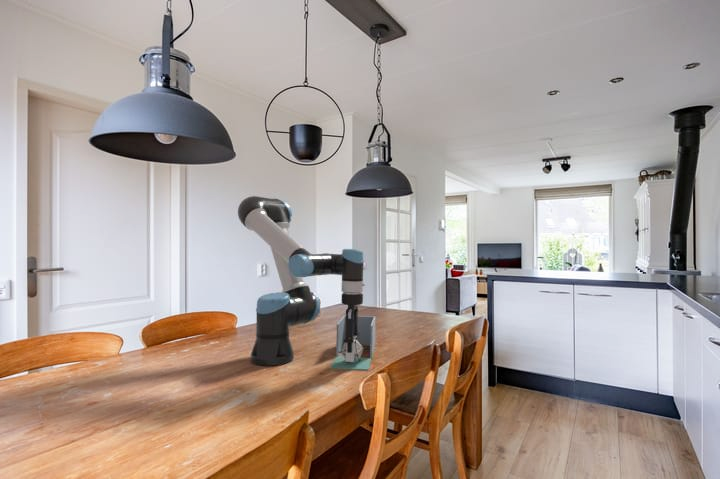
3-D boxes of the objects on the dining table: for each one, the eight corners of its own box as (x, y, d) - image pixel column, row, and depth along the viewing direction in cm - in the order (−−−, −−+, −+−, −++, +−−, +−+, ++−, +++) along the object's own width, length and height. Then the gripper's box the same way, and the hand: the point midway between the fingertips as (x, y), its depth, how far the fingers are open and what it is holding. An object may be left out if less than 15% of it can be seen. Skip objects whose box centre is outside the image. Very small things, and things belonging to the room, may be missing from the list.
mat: (330, 368, 125) (330, 367, 125) (336, 357, 137) (336, 356, 137) (368, 370, 124) (368, 369, 124) (371, 359, 136) (371, 358, 136)
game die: (356, 373, 129) (364, 354, 124) (333, 364, 129) (340, 345, 124) (362, 354, 136) (370, 336, 131) (341, 346, 137) (348, 327, 132)
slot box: (336, 356, 138) (336, 324, 139) (343, 344, 156) (343, 315, 156) (372, 358, 137) (372, 325, 137) (375, 345, 155) (375, 316, 155)
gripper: (359, 297, 120) (358, 367, 120) (365, 289, 141) (364, 349, 140) (336, 296, 121) (335, 366, 120) (346, 288, 141) (345, 348, 141)
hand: (351, 357), depth 130 cm, fingers closed on game die, 8 cm apart
